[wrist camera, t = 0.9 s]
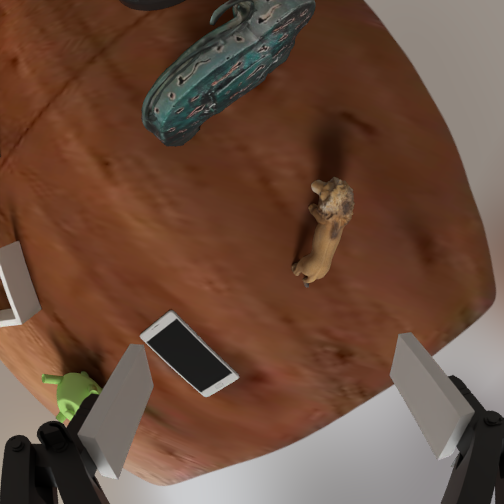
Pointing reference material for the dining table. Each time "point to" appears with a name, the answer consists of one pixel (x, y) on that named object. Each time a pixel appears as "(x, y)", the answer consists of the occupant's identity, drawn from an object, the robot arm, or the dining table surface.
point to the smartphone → (188, 354)
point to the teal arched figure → (223, 66)
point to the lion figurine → (326, 227)
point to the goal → (16, 287)
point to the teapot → (71, 391)
